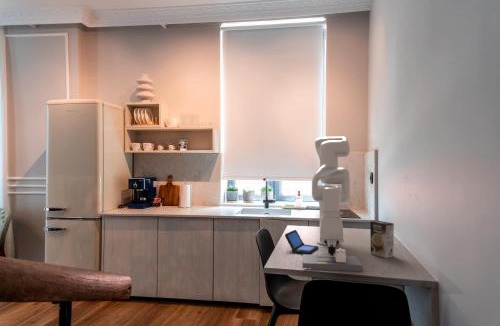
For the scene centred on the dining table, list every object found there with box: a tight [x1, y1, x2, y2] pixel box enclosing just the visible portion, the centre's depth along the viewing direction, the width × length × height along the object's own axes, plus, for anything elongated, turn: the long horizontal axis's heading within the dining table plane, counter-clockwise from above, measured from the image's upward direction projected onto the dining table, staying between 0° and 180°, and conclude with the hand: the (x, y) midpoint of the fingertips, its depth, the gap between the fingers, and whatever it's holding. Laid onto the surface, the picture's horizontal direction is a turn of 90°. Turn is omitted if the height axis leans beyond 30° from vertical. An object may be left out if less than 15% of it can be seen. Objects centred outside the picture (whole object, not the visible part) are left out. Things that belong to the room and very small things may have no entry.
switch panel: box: [302, 254, 362, 272], centre depth 147 cm, size 14×24×3 cm, turn 81°
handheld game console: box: [284, 229, 319, 255], centre depth 173 cm, size 16×13×9 cm
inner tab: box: [335, 247, 347, 256], centre depth 150 cm, size 3×4×4 cm
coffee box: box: [369, 220, 395, 259], centre depth 163 cm, size 9×6×16 cm
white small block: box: [335, 252, 347, 262], centre depth 143 cm, size 3×4×4 cm
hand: (331, 255), depth 151 cm, fingers closed
